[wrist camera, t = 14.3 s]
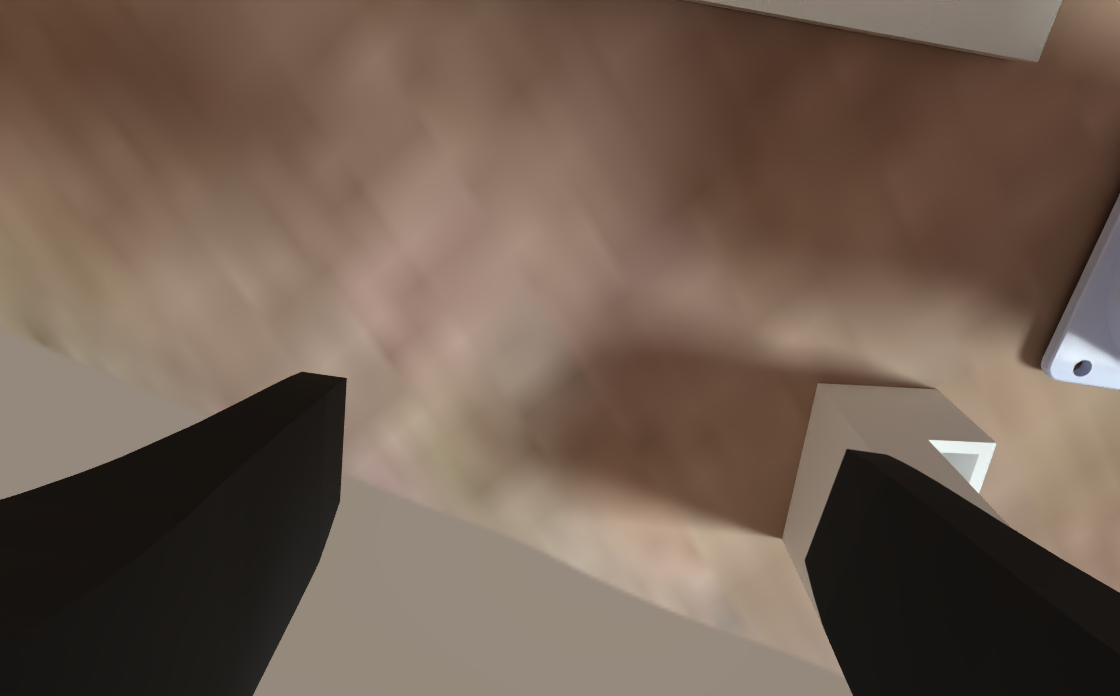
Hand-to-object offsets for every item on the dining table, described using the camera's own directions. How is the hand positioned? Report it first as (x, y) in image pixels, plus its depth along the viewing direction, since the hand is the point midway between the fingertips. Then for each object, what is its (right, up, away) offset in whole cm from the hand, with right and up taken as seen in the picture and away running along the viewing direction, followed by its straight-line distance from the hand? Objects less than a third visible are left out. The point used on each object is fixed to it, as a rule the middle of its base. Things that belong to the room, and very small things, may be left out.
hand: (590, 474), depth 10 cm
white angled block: (+9, -2, +13) cm, 16 cm away
